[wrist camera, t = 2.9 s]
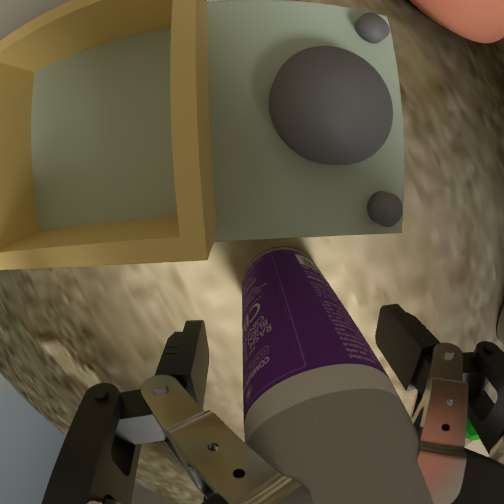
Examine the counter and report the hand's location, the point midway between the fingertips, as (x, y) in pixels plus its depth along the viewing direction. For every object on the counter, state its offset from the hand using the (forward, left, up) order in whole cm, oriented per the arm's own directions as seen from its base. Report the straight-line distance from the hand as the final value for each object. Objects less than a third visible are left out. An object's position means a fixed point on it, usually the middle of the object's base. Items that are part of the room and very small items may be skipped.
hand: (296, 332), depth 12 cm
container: (0, 0, -5) cm, 5 cm away
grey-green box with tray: (+4, -9, -5) cm, 11 cm away
